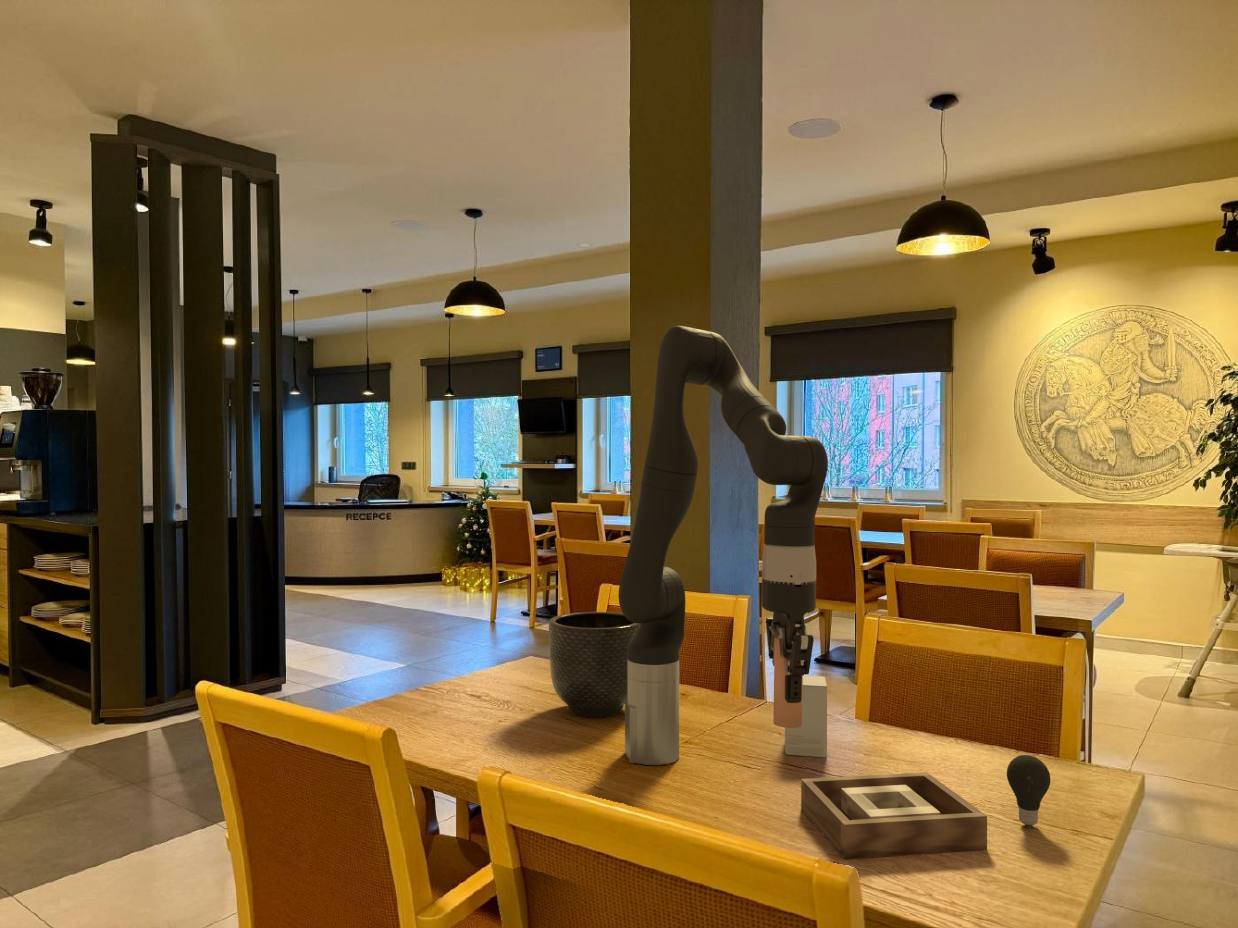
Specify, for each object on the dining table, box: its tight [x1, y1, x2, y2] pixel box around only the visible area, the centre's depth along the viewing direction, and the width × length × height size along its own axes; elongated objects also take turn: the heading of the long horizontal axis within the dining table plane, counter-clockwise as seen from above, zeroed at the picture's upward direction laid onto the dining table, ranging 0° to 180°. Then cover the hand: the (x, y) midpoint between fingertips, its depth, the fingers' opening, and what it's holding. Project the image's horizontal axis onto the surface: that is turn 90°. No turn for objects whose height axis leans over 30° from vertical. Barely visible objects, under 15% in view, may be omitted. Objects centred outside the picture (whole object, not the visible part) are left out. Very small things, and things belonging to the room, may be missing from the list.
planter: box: [548, 611, 641, 719], centre depth 175 cm, size 20×20×19 cm
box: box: [800, 772, 988, 860], centre depth 118 cm, size 20×16×4 cm
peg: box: [772, 637, 803, 729], centre depth 118 cm, size 4×4×12 cm
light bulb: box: [1006, 754, 1051, 828], centre depth 119 cm, size 6×6×10 cm
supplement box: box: [784, 675, 828, 758], centre depth 151 cm, size 7×7×13 cm
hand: (787, 696), depth 118 cm, fingers closed on peg, 4 cm apart
